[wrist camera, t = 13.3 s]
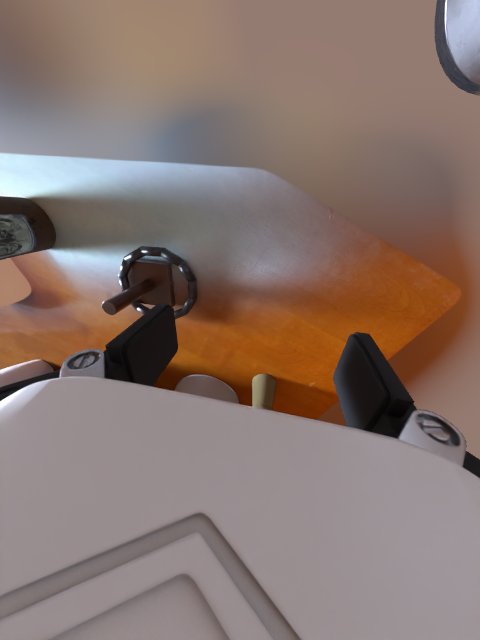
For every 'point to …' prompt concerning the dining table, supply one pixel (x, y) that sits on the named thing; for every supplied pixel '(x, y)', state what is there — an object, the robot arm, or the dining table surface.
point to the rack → (144, 286)
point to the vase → (24, 371)
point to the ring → (170, 257)
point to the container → (207, 388)
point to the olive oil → (23, 228)
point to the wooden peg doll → (263, 391)
